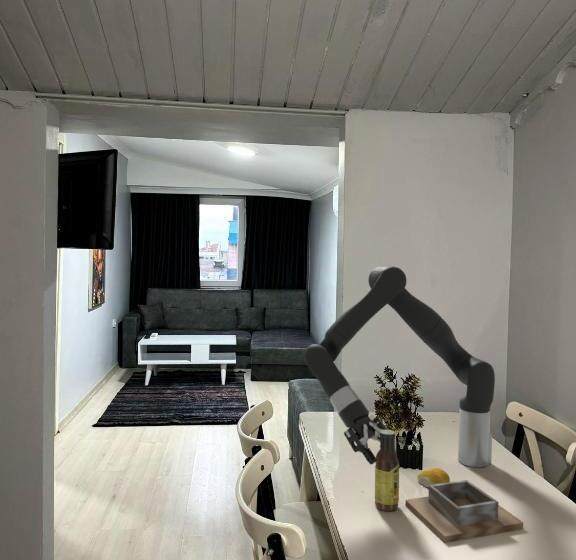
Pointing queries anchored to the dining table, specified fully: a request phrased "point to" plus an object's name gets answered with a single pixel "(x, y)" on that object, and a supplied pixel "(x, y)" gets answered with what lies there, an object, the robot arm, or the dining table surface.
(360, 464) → the dining table surface
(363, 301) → the robot arm
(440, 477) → the bread roll
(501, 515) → the bottle stand
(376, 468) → the sauce bottle
